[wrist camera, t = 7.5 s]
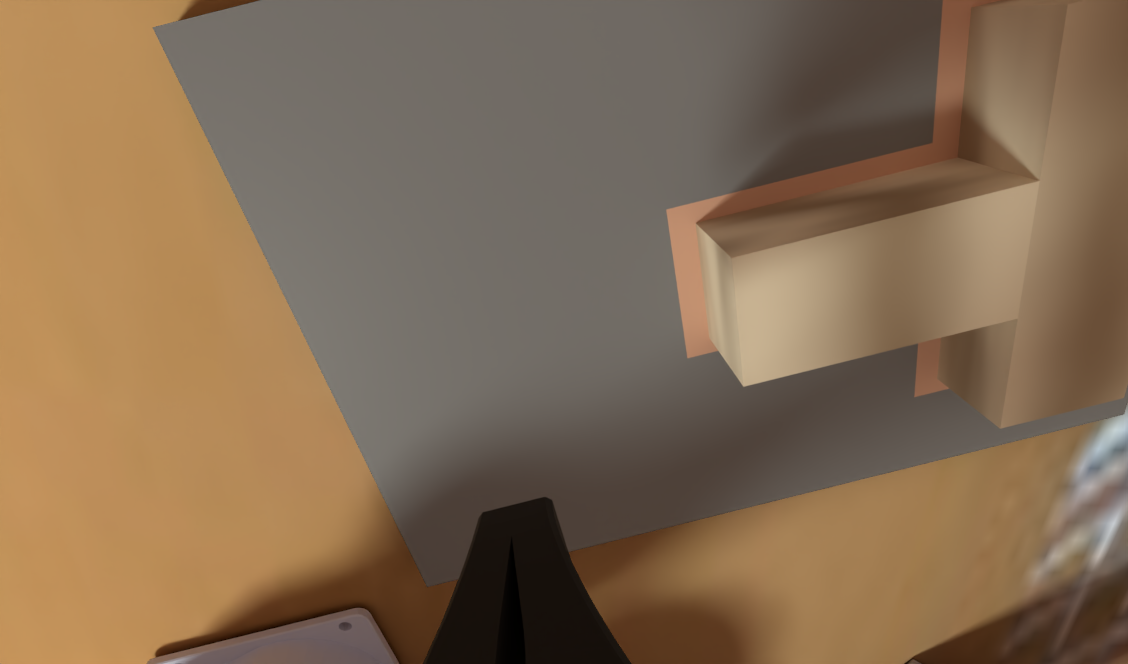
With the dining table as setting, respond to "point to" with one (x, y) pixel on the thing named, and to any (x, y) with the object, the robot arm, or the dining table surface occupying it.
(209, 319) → the dining table surface
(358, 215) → the board
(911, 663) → the supplement box
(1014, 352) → the t block
